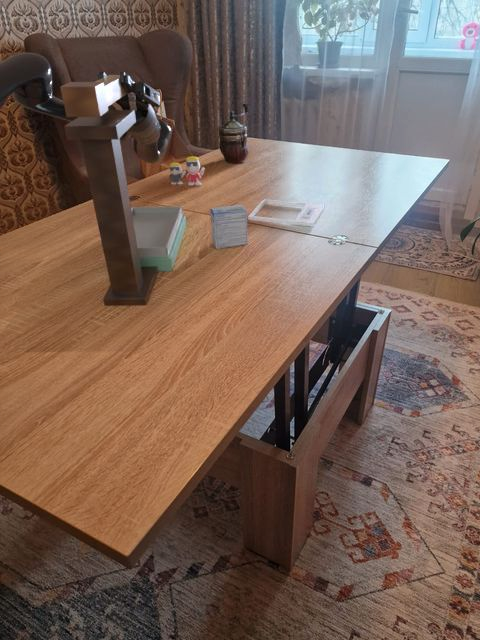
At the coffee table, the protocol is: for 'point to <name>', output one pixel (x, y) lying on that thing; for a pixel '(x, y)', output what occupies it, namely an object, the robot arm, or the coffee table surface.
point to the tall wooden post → (113, 204)
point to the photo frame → (304, 218)
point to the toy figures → (191, 167)
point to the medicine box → (229, 226)
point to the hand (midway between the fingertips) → (111, 77)
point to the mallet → (91, 96)
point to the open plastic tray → (158, 235)
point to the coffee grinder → (234, 139)
